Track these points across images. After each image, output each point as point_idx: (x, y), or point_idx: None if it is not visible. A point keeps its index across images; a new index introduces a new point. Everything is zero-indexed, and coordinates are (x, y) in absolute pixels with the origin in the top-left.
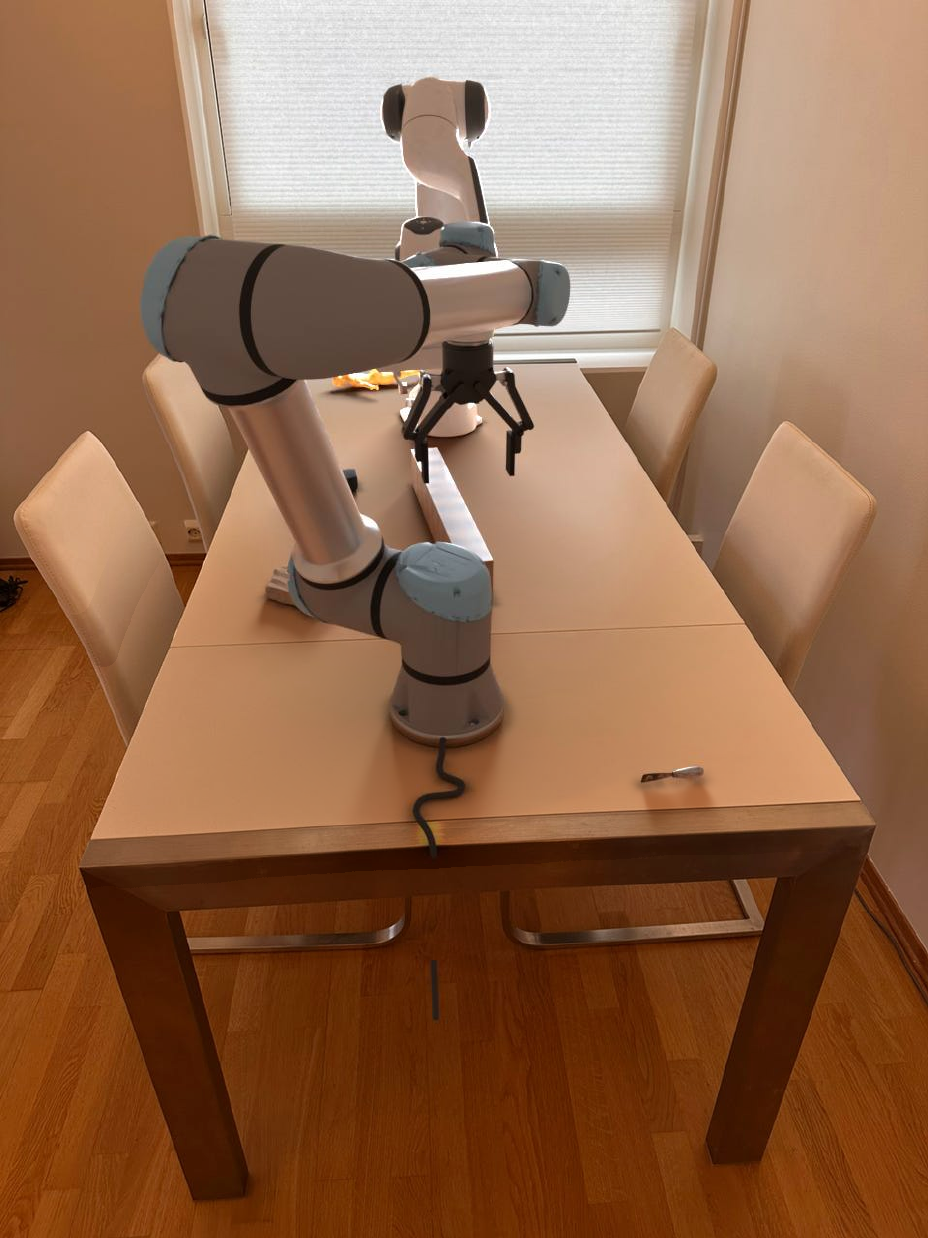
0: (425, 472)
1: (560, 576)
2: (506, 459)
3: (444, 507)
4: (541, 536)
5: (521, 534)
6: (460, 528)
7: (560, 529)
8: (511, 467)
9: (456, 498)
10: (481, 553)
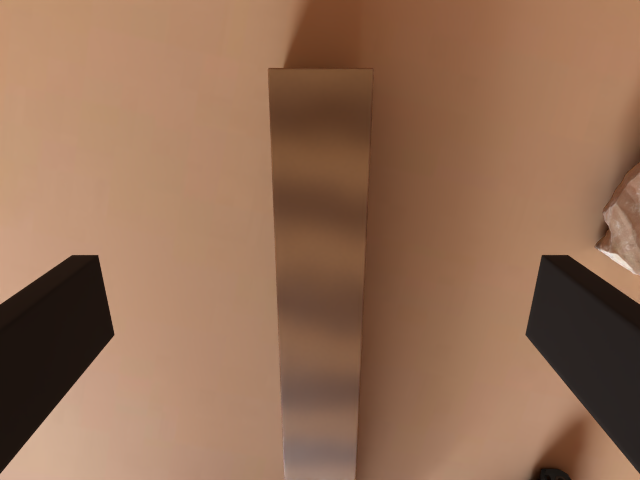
0: (602, 282)
1: (104, 164)
2: (79, 363)
3: (337, 398)
4: (124, 338)
5: (166, 354)
6: (322, 284)
7: None
8: (61, 276)
9: (297, 435)
10: (295, 122)
